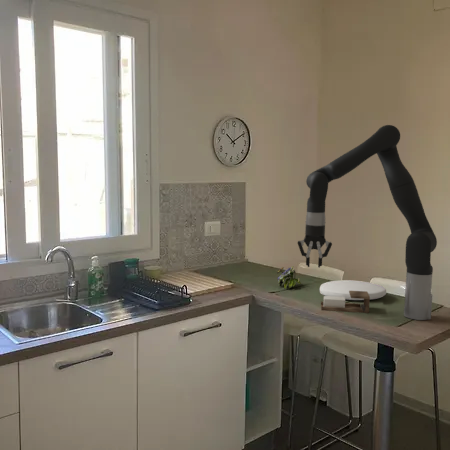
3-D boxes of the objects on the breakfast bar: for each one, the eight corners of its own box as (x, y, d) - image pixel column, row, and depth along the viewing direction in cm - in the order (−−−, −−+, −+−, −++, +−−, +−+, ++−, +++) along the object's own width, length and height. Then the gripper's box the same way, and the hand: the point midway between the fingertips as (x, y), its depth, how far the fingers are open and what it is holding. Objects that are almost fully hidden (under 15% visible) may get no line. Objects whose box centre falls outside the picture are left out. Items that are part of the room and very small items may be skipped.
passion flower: (280, 297, 246) (277, 273, 251) (303, 294, 244) (300, 270, 249) (276, 288, 236) (274, 264, 242) (300, 285, 234) (297, 261, 240)
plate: (309, 286, 225) (333, 276, 247) (310, 301, 225) (334, 289, 247) (373, 290, 209) (393, 278, 231) (374, 306, 209) (393, 293, 231)
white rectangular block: (343, 306, 208) (344, 296, 207) (344, 310, 203) (345, 300, 203) (323, 305, 209) (323, 295, 209) (323, 309, 204) (324, 299, 204)
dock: (366, 309, 208) (367, 291, 207) (368, 315, 200) (369, 297, 199) (320, 306, 211) (321, 289, 210) (321, 312, 203) (322, 294, 202)
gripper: (333, 223, 206) (331, 265, 208) (297, 221, 208) (295, 264, 210) (334, 225, 198) (332, 269, 201) (296, 224, 201) (295, 268, 203)
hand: (313, 266), depth 205 cm, fingers open, 3 cm apart
